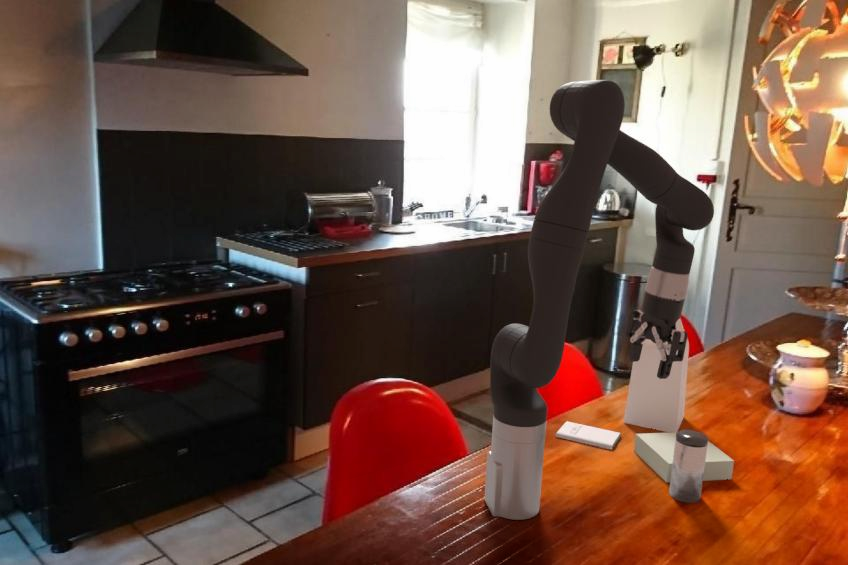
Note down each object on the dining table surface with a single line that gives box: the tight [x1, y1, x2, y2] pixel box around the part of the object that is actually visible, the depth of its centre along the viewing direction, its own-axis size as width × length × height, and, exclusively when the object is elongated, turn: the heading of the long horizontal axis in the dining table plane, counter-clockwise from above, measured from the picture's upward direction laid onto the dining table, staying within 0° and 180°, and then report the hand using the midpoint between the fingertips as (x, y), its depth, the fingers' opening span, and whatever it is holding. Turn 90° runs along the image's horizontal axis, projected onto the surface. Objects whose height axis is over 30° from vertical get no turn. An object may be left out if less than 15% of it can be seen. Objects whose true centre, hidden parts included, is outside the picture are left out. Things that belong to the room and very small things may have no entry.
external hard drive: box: [555, 420, 622, 451], centre depth 159 cm, size 2×8×12 cm
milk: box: [623, 318, 690, 433], centre depth 168 cm, size 12×12×26 cm
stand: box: [633, 432, 735, 483], centre depth 147 cm, size 14×14×4 cm
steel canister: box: [668, 429, 709, 504], centre depth 133 cm, size 6×6×12 cm
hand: (647, 369), depth 142 cm, fingers open, 8 cm apart
